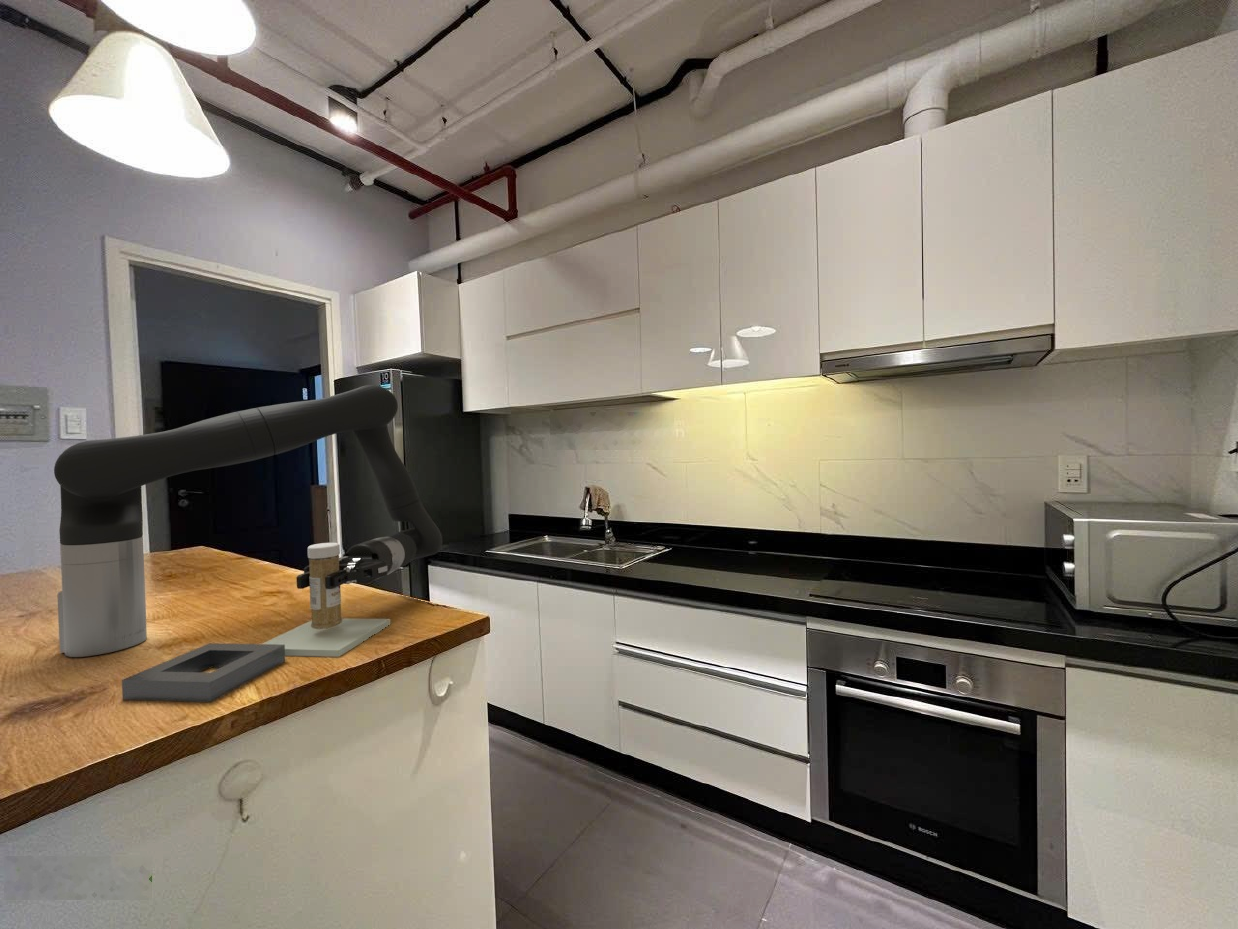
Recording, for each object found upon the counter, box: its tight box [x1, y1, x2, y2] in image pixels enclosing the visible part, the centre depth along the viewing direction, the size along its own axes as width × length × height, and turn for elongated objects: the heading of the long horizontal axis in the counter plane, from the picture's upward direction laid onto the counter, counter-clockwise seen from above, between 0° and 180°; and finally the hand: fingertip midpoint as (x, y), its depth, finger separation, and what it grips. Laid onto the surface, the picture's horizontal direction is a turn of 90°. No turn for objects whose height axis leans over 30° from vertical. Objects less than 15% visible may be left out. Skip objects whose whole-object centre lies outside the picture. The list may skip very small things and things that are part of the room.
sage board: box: [262, 617, 391, 658], centre depth 82 cm, size 14×14×1 cm
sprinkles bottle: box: [307, 542, 343, 629], centre depth 82 cm, size 5×5×13 cm
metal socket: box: [121, 642, 286, 703], centre depth 67 cm, size 12×12×2 cm
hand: (313, 582), depth 79 cm, fingers closed on sprinkles bottle, 4 cm apart
